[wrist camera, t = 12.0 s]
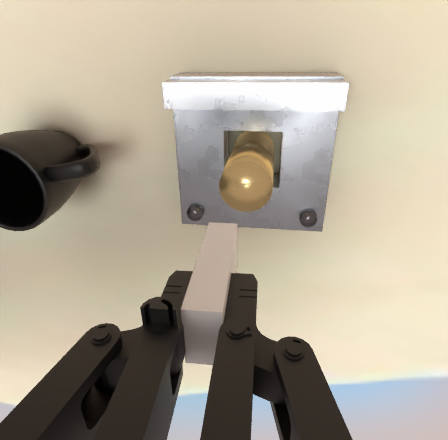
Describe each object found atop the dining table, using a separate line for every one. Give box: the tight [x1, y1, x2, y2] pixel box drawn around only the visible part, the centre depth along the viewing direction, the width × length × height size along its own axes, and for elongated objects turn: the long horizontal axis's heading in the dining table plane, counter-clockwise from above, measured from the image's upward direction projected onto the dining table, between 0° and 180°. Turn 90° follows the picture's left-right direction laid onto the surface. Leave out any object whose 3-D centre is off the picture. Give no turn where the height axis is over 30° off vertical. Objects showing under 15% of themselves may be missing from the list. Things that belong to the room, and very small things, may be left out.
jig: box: [162, 73, 349, 231], centre depth 31 cm, size 14×14×6 cm
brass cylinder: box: [219, 131, 274, 212], centre depth 30 cm, size 4×4×10 cm
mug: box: [0, 130, 100, 231], centre depth 33 cm, size 8×12×10 cm
